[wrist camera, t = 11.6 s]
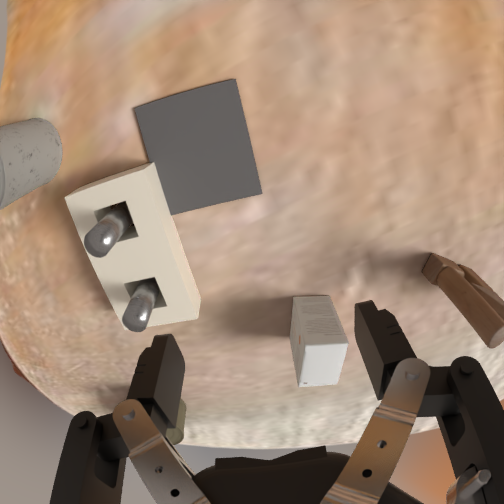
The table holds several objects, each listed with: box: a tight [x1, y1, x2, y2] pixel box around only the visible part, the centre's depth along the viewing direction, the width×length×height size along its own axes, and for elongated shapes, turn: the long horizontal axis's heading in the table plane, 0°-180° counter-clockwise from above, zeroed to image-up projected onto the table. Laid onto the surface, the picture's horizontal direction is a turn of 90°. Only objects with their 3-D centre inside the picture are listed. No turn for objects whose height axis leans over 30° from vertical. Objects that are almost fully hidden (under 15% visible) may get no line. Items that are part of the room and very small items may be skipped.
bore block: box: [64, 162, 201, 330], centre depth 38 cm, size 20×11×4 cm, turn 13°
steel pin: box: [84, 201, 133, 258], centre depth 34 cm, size 3×3×10 cm
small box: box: [290, 296, 349, 387], centre depth 42 cm, size 8×6×10 cm
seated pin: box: [122, 277, 160, 332], centre depth 38 cm, size 3×3×10 cm
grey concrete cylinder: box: [0, 118, 62, 210], centre depth 28 cm, size 10×10×12 cm
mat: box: [135, 79, 262, 215], centre depth 35 cm, size 14×12×1 cm
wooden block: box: [422, 253, 504, 348], centre depth 36 cm, size 4×11×18 cm, turn 72°
